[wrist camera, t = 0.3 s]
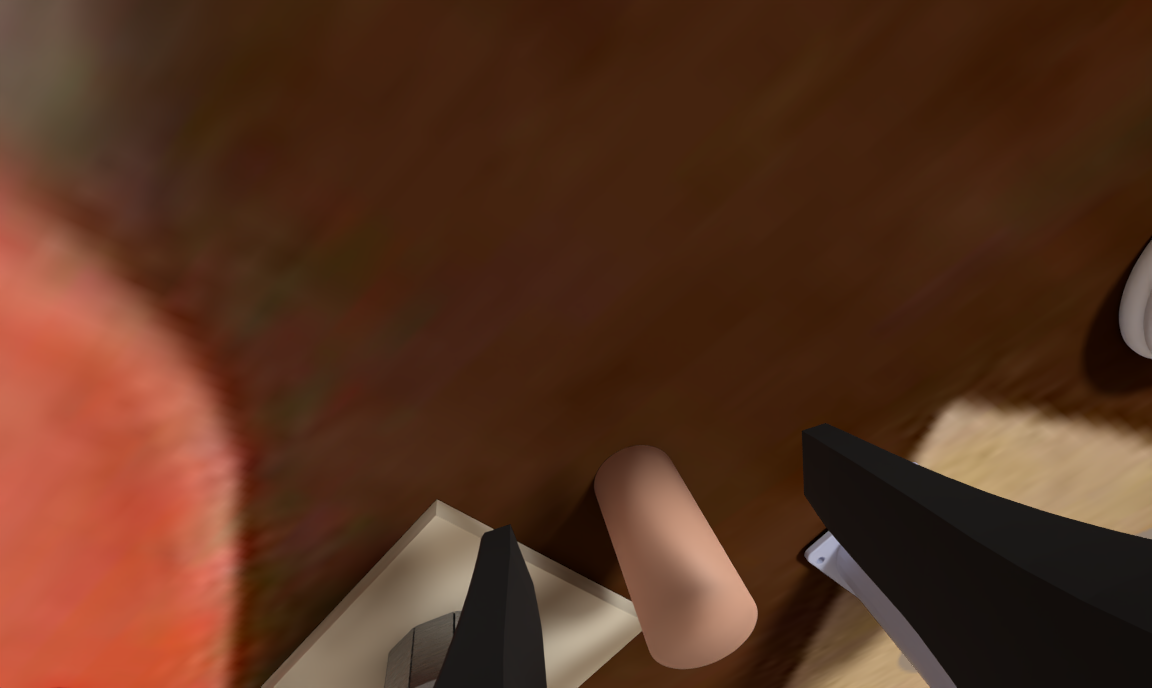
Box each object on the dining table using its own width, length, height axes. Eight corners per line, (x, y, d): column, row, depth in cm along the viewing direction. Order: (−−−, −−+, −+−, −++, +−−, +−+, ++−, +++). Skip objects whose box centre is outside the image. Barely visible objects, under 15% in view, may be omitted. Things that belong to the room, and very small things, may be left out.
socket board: (643, 607, 29) (669, 678, 25) (483, 750, 31) (486, 833, 28) (436, 499, 23) (432, 571, 19) (261, 686, 26) (229, 780, 22)
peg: (689, 470, 25) (778, 613, 18) (633, 523, 26) (697, 681, 19) (635, 430, 24) (710, 571, 17) (576, 488, 24) (624, 647, 17)
